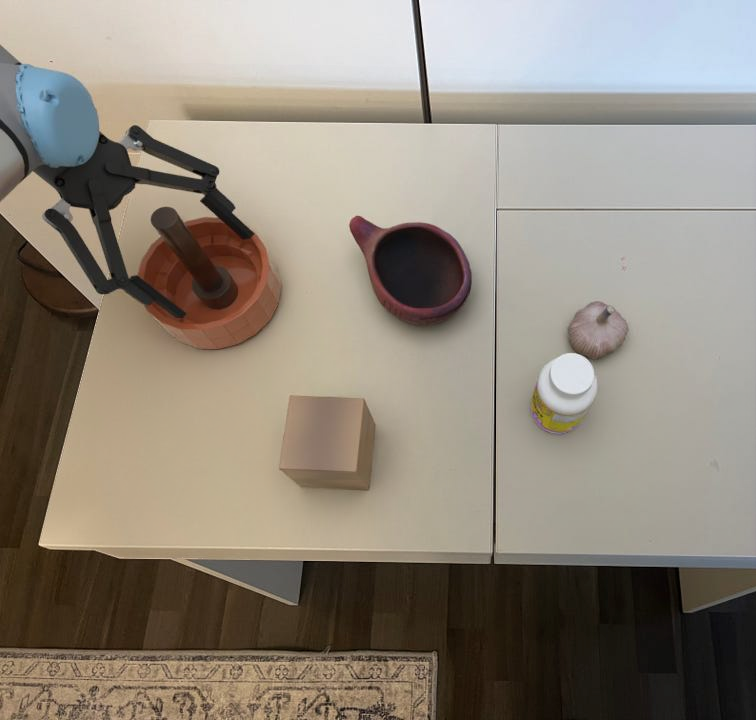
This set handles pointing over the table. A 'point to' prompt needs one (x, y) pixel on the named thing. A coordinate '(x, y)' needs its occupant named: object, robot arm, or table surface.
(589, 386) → the supplement bottle
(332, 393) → the table surface
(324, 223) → the table surface
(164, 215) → the cylinder
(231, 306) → the mixing bowl
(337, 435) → the cube
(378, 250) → the bowl
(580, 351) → the garlic bulb
